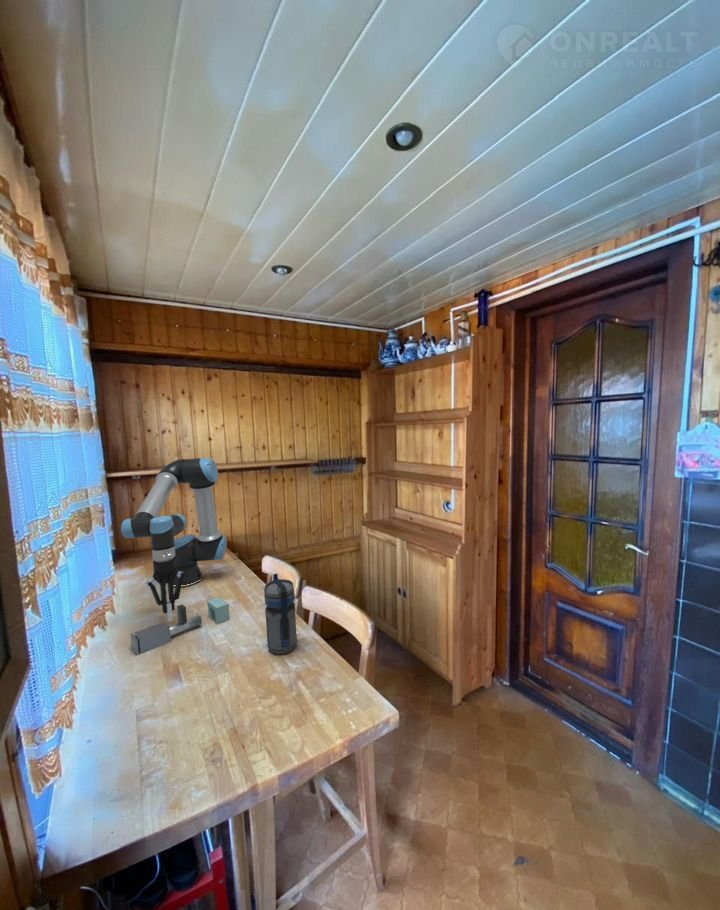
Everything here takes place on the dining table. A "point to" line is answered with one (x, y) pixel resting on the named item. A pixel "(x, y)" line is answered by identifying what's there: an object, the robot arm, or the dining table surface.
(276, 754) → the dining table surface
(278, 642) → the beverage bottle
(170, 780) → the dining table surface
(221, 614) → the pale blue rectangular block
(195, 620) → the block with metal shaft
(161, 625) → the outer sleeve
